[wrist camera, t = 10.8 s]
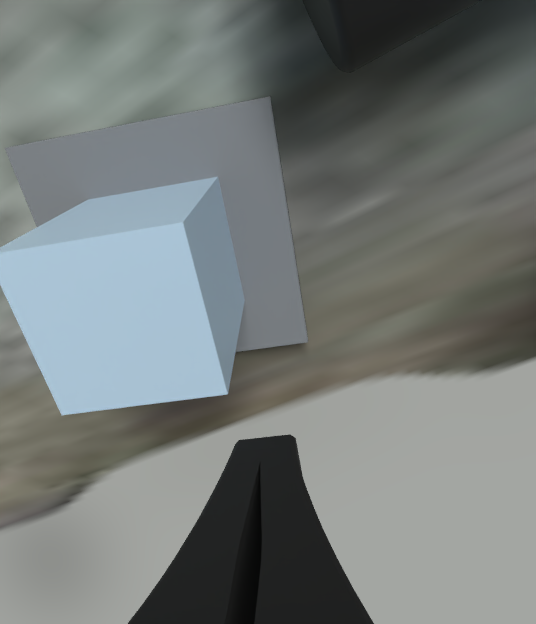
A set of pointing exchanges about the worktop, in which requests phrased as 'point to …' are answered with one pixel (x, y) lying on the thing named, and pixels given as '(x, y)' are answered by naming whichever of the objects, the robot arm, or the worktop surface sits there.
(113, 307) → the pale blue cube
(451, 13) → the end cap
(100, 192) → the board
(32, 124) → the worktop surface
